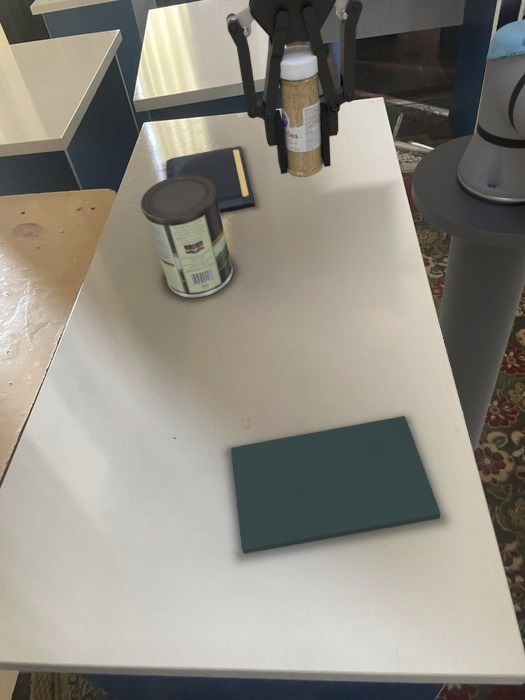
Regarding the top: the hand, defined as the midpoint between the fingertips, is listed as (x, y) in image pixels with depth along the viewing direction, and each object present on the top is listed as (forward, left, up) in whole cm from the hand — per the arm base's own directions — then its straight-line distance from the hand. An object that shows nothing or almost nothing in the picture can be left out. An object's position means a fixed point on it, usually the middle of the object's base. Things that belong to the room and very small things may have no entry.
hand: (304, 163), depth 68 cm
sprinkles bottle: (0, 0, -1) cm, 1 cm away
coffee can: (+16, -6, -19) cm, 26 cm away
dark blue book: (+13, -31, -19) cm, 39 cm away
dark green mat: (+4, +32, -19) cm, 37 cm away
